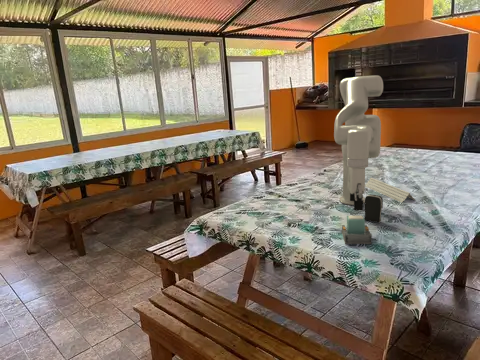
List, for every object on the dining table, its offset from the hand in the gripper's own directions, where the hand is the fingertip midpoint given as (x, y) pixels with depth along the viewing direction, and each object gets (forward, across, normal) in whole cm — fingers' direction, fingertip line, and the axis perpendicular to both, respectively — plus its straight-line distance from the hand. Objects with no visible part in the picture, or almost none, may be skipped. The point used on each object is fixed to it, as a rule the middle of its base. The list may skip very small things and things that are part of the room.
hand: (356, 205), depth 136 cm
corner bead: (+15, -54, +25) cm, 61 cm away
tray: (+13, +2, 0) cm, 13 cm away
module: (+12, +1, 0) cm, 12 cm away
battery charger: (+14, -16, +10) cm, 23 cm away
